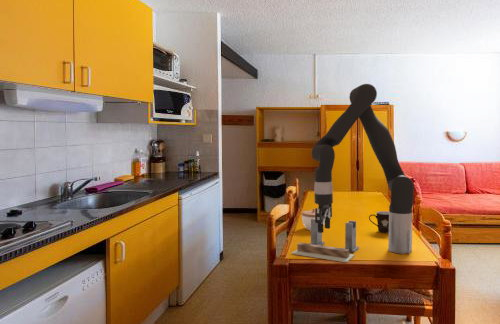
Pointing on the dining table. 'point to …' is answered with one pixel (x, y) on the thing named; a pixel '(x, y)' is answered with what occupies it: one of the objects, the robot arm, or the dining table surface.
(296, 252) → the white flat slab
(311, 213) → the lidded bowl
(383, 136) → the robot arm
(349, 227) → the forked posts
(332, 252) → the walnut bar
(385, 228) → the coffee mug
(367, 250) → the dining table surface
